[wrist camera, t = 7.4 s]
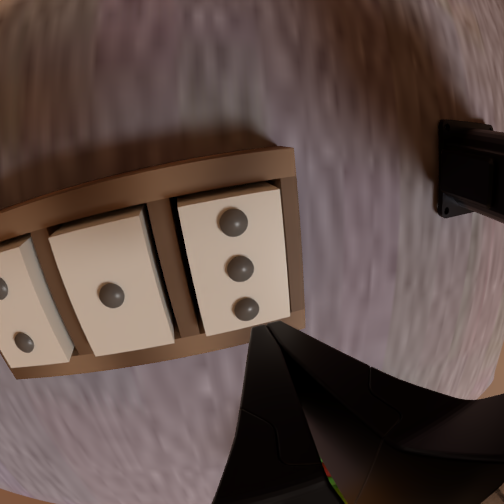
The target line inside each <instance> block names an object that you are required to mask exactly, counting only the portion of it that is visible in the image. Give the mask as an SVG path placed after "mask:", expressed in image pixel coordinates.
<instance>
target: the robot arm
mask: <svg viewBox="0 0 504 504" xmlns="http://www.w3.org/2000/svg"><path fill="white" fill-rule="evenodd" d="M445 126H446V129H445ZM438 128H439V200H438V214H439V216H441V217H443V218H449V217H454V216H458V215H462V214H467V213H471V212H477V213H479V214H482V215H484V216H487V217H489V218H492V219H494V220H497V221H499V222H501V223H504V133H503V132H496V131H493V128H492V126H491V125H488V124H480V123H473V122H464V121H455V120H444V119H443V120H440V122H439V126H438ZM444 210H445V211H444ZM320 458H321V459H322V461H323V463H324V465H325V466H326V468H327V470H328V471H329V473H330V475H331V477H332V478H333V480H334V482H335V483H336V485H337V487H338V488H339V490H340V492H341V493H342V495H343V497H344V498H345V500H346V502H347V503H348V504H504V394H501V395H496V396H493V397H488V398H485V399H479V400H465V399H459V398H455V397H451V396H448V395H445V394H442V393H438V392H435V391H432V390H429V389H426V388H423V387H420V386H417V385H414V384H411V383H408V382H406V381H403V380H400V379H398V378H395V377H393V376H391V375H389V374H386V373H384V372H382V371H380V370H378V369H376V368H373V367H370V366H369V365H367V364H365V363H363V362H361V361H359V360H357V359H355V358H353V357H351V356H349V355H347V354H345V353H343V352H341V351H339V350H337V349H335V348H333V347H331V346H329V345H327V344H325V343H323V342H321V341H319V340H317V339H315V338H313V337H311V336H309V335H307V334H305V333H303V332H301V331H299V330H297V329H296V328H294V327H292V326H290V325H288V324H286V323H284V322H282V321H274V322H271V323H267V324H266V325H264V324H263V325H259V326H255V327H252V328H251V333H250V340H249V347H248V355H247V362H246V369H245V376H244V383H243V390H242V397H241V404H240V410H239V416H238V422H237V427H236V432H235V437H234V441H233V444H232V448H231V451H230V455H229V457H228V460H227V463H226V466H225V469H224V472H223V475H222V478H221V480H220V483H219V486H218V489H217V492H216V494H215V497H214V499H213V501H212V504H345V502H344V501H343V500H342V499H341V497H340V496H339V495H338V493H337V492H336V491H335V489H334V488H333V486H332V485H331V483H330V481H329V479H328V477H327V475H326V473H325V470H324V467H323V466H322V462H321V459H320Z"/></svg>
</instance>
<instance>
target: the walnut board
mask: <svg viewBox="0 0 504 504" xmlns="http://www.w3.org/2000/svg"><path fill="white" fill-rule="evenodd" d="M265 180H268V183H269V184H271V185H273V186H275V187H277V188H279V189H280V197H281V207H282V218H283V229H284V240H285V252H286V264H287V277H288V290H289V304H290V317H286V318H282V319H278V320H274V321H282V322H284V323H286V324H288V325H290V326H292V327H294V328H296V329H297V330H300V329H303V328H305V304H304V281H303V262H302V246H301V230H300V216H299V203H298V191H297V179H296V168H295V157H294V148H291V147H283V146H273V147H264V148H257V149H249V150H242V151H235V152H228V153H222V154H216V155H210V156H204V157H198V158H192V159H187V160H182V161H176V162H171V163H166V164H161V165H157V166H152V167H147V168H143V169H138V170H134V171H130V172H125V173H121V174H117V175H113V176H109V177H105V178H101V179H97V180H94V181H90V182H86V183H83V184H79V185H75V186H72V187H68V188H65V189H62V190H58V191H55V192H52V193H49V194H45V195H42V196H39V197H36V198H33V199H30V200H27V201H24V202H21V203H18V204H15V205H12V206H10V207H7V208H4V209H1V210H0V241H3V240H6V239H10V238H13V237H16V236H19V235H23V234H26V233H29V232H30V234H31V237H32V241H33V244H34V247H35V250H36V253H37V256H38V259H39V262H40V265H41V268H42V270H43V273H44V276H45V279H46V281H47V284H48V286H49V289H50V291H51V294H52V296H53V299H54V301H55V304H56V306H57V308H58V311H59V313H60V315H61V317H62V320H63V322H64V324H65V326H66V328H67V331H68V333H69V335H70V337H71V339H72V341H73V343H74V345H75V346H74V349H73V352H72V355H71V358H70V361H69V362H66V363H57V364H49V365H39V366H29V367H17V368H11V367H10V365H9V364H8V362H7V360H6V359H5V357H4V355H3V354H2V352H1V350H0V354H1V355H2V357H3V359H4V360H5V362H6V364H7V365H8V367H9V368H10V370H11V372H12V373H13V375H14V376H15V378H16V379H28V378H41V377H52V376H63V375H72V374H81V373H89V372H97V371H104V370H112V369H118V368H125V367H131V366H138V365H144V364H150V363H155V362H161V361H166V360H172V359H177V358H182V357H187V356H192V355H197V354H202V353H207V352H211V351H216V350H220V349H225V348H229V347H233V346H238V345H242V344H246V343H249V340H250V333H251V328H252V327H255V326H259V325H263V324H264V325H266V324H267V323H271V322H274V321H271V322H267V323H263V324H258V325H254V326H250V327H246V328H242V329H238V330H233V331H229V332H225V333H220V334H216V335H211V336H206V333H205V329H204V325H203V321H202V317H201V313H200V312H196V310H195V306H194V302H193V298H192V294H191V290H190V285H189V281H188V277H187V273H186V268H185V264H184V259H183V255H182V250H181V246H180V241H179V236H178V231H177V226H176V222H175V217H174V211H173V206H172V201H171V197H175V196H180V195H185V194H190V193H195V192H200V191H206V190H211V189H217V188H222V187H228V186H234V185H240V184H246V183H252V182H258V181H265ZM146 202H147V207H148V212H149V216H150V221H151V225H152V230H153V234H154V238H155V243H156V247H157V251H158V255H159V259H160V263H161V267H162V271H163V275H164V278H165V282H166V286H167V290H168V293H169V297H170V300H171V304H172V307H173V311H174V314H175V317H173V324H174V342H175V343H172V344H167V345H162V346H156V347H151V348H145V349H140V350H134V351H128V352H122V353H116V354H109V355H103V356H95V354H94V352H93V350H92V348H91V346H90V344H89V342H88V340H87V338H86V335H85V333H84V331H83V329H82V327H81V324H80V322H79V320H78V318H77V315H76V313H75V311H74V308H73V306H72V303H71V301H70V298H69V296H68V293H67V291H66V288H65V286H64V283H63V280H62V277H61V275H60V272H59V269H58V266H57V263H56V260H55V257H54V254H53V251H52V248H51V245H50V242H49V237H50V236H51V235H52V234H53V233H54V232H55V231H56V230H57V229H58V228H60V227H61V226H62V225H63V223H65V222H68V221H72V220H76V219H80V218H83V217H87V216H91V215H95V214H99V213H103V212H107V211H112V210H116V209H120V208H124V207H129V206H133V205H137V204H142V203H146Z"/></svg>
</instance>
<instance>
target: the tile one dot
mask: <svg viewBox="0 0 504 504" xmlns="http://www.w3.org/2000/svg"><path fill="white" fill-rule="evenodd" d="M49 242H50V245H51V248H52V251H53V254H54V257H55V260H56V263H57V266H58V269H59V272H60V275H61V277H62V280H63V283H64V286H65V288H66V291H67V293H68V296H69V298H70V301H71V303H72V306H73V308H74V311H75V313H76V315H77V318H78V320H79V322H80V324H81V327H82V329H83V331H84V333H85V335H86V338H87V340H88V342H89V344H90V346H91V348H92V350H93V352H94V354H95V356H103V355H109V354H116V353H122V352H128V351H134V350H140V349H145V348H151V347H156V346H162V345H167V344H172V343H175V342H174V324H173V315H172V312H171V308H170V305H169V301H168V298H167V294H166V291H165V287H164V283H163V280H162V276H161V272H160V268H159V264H158V261H157V257H156V253H155V249H154V244H153V240H152V236H151V232H150V227H149V223H148V218H147V214H146V209H145V205H144V204H139V205H135V206H130V207H126V208H122V209H117V210H113V211H109V212H105V213H101V214H97V215H93V216H89V217H85V218H81V219H77V220H73V221H70V222H66V223H64V224H63V225H62V226H61V227H60V228H58V229H57V230H56V231H55V232H54V233H53V234H52V235H51V236H50V237H49Z"/></svg>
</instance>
